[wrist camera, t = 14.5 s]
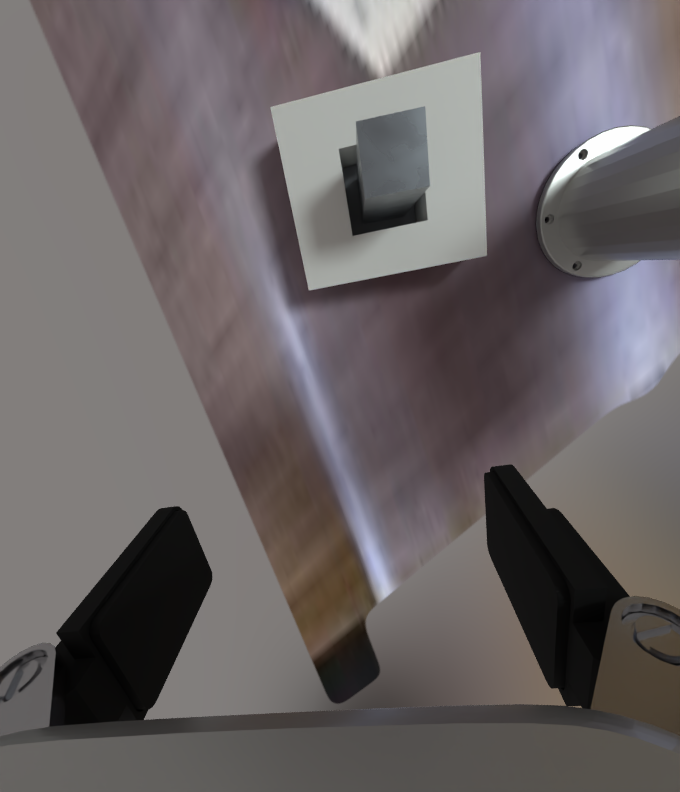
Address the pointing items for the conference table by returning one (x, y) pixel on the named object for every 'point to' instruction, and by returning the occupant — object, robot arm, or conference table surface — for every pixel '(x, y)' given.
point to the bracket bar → (391, 163)
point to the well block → (325, 189)
